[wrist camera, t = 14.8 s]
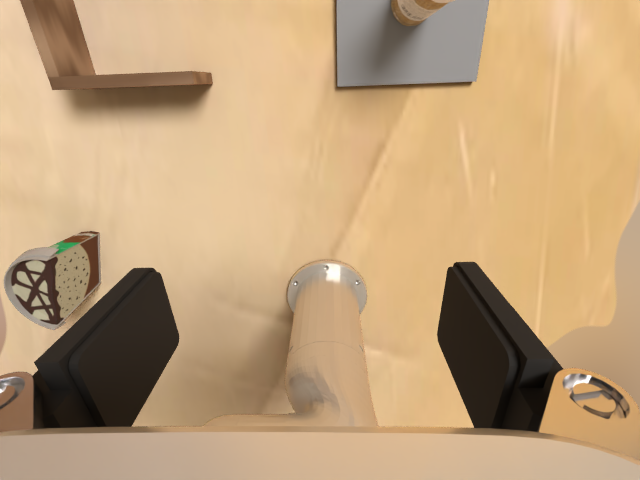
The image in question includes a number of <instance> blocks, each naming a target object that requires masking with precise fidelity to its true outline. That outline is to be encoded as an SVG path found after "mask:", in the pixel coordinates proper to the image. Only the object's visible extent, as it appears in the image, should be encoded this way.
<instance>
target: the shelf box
mask: <svg viewBox="0 0 640 480" xmlns="http://www.w3.org/2000/svg"><path fill="white" fill-rule="evenodd" d="M20 1H21V4H22V7H23V9H24V12H25V15H26V18H27V20H28V23H29V26H30V29H31V32H32V34H33V37H34V40H35V43H36V45H37V48H38V51H39V54H40V56H41V59H42V62H43V65H44V68H45V70H46V73H47V76H48V79H49V81H50V84H51V87H52V90H65V89H98V88H124V87H149V86H175V85H200V84H213V82H212V76H211V73H207V72H195V71H186V72H162V73H137V74H113V75H96V74H95V71H94V68H93V64H92V61H91V58H90V55H89V51H88V48H87V45H86V41H85V38H84V35H83V31H82V28H81V25H80V21H79V18H78V15H77V12H76V8H75V5H74V2H73V0H20Z"/></svg>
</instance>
